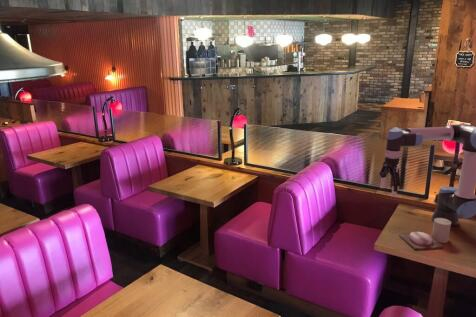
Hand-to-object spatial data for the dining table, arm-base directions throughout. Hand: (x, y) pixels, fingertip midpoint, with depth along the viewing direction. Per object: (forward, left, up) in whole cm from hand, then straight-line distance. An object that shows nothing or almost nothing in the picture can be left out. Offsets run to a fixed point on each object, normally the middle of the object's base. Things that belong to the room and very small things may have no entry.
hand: (388, 192), depth 230 cm
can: (-31, +9, -28) cm, 43 cm away
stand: (-18, +11, -28) cm, 34 cm away
